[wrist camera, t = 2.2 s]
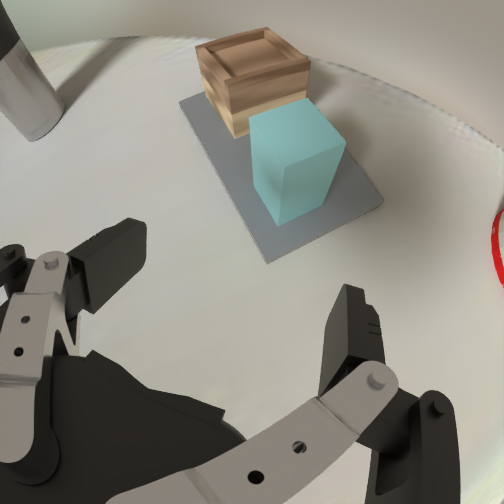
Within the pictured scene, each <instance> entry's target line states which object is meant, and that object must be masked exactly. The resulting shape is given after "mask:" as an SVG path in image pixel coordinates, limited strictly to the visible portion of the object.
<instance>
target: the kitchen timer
mask: <svg viewBox="0 0 504 504" xmlns="http://www.w3.org/2000/svg"><path fill="white" fill-rule="evenodd" d="M491 243H492V254H493V259H494V264H495V268H496V271H497V274H498V277H499V280H500V282H501V284H502V286H503V288H504V210H502V211H501V212H500V213H499V214H498V215H497V216H496V218H495V220H494V223H493V226H492V235H491Z"/></svg>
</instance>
